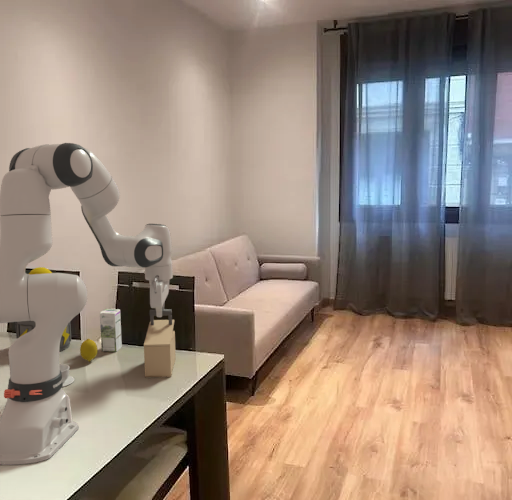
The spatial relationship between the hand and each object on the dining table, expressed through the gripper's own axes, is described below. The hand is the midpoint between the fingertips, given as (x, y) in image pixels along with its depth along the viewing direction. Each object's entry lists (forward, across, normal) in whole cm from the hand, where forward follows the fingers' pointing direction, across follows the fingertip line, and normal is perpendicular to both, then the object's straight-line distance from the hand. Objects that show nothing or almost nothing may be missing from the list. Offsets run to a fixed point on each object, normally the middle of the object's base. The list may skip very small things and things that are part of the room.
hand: (160, 314), depth 168 cm
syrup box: (+17, +17, +20) cm, 31 cm away
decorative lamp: (+17, +21, +45) cm, 53 cm away
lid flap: (+5, -3, 0) cm, 6 cm away
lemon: (+17, +5, +25) cm, 31 cm away
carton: (+17, -3, 0) cm, 17 cm away
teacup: (+17, -12, +30) cm, 37 cm away
